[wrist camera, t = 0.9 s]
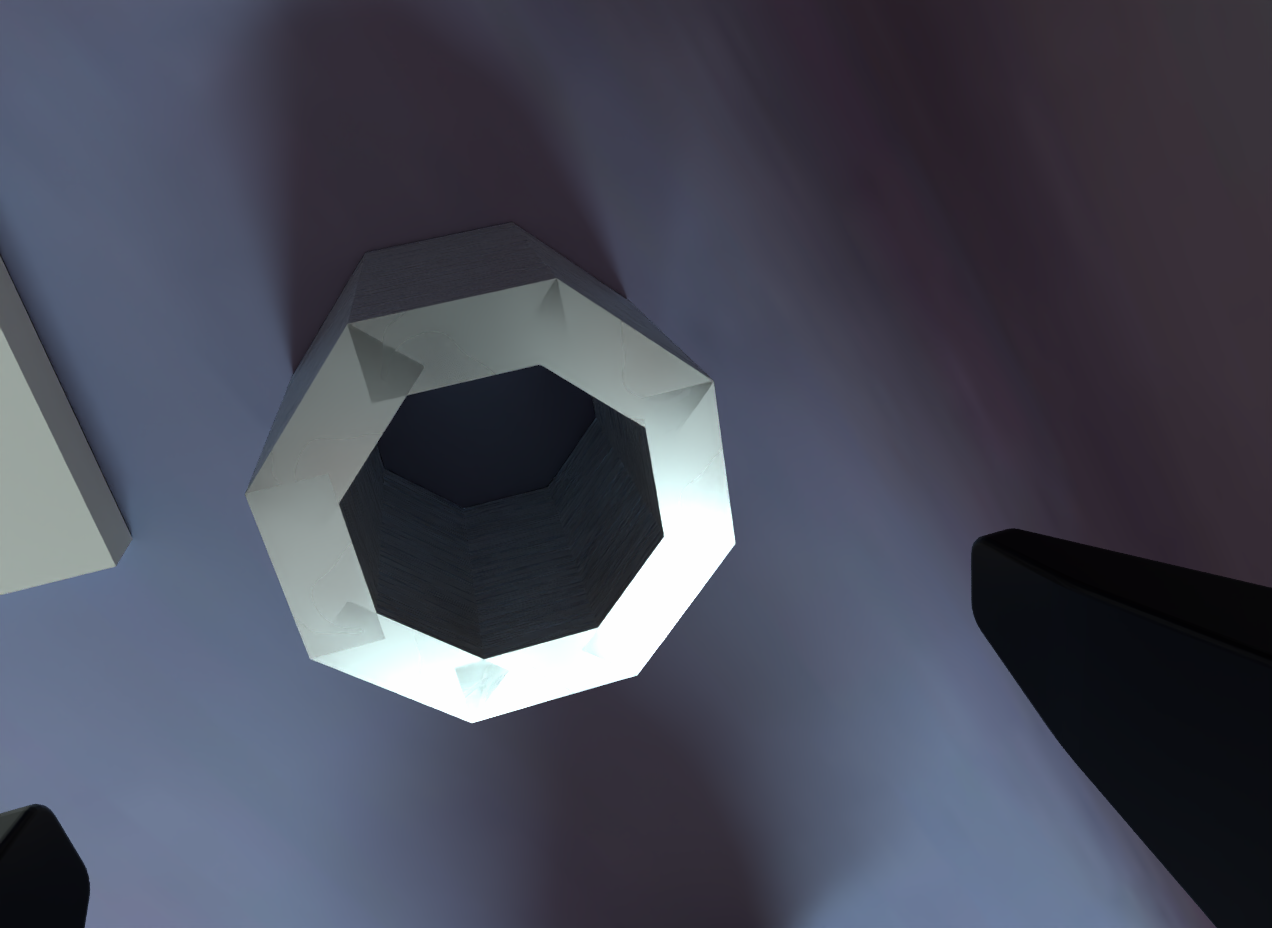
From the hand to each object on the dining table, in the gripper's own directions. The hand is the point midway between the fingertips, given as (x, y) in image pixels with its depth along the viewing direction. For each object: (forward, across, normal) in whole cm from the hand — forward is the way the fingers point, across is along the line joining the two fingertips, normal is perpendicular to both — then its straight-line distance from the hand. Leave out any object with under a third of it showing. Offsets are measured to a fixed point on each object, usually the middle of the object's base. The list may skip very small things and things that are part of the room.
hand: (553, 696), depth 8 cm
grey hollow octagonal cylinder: (+9, 0, 0) cm, 9 cm away
